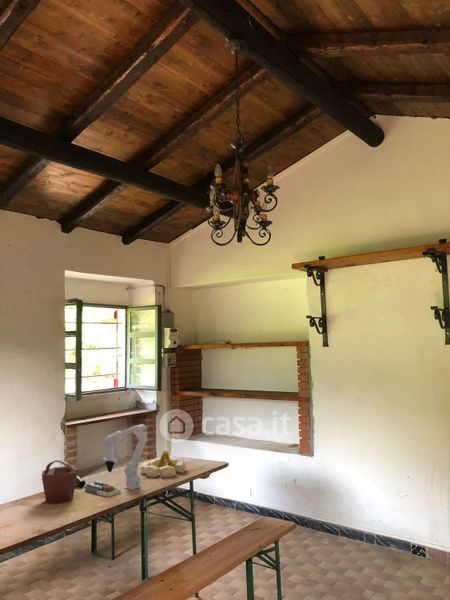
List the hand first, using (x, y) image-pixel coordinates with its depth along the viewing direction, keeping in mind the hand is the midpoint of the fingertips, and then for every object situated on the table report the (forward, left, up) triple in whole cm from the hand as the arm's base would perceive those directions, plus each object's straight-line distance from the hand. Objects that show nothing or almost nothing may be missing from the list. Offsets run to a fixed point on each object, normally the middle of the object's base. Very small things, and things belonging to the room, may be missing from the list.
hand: (109, 471), depth 334 cm
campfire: (-6, -48, -10) cm, 49 cm away
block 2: (-13, +12, -7) cm, 19 cm away
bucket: (+4, +39, -10) cm, 41 cm away
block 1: (-11, +12, -9) cm, 19 cm away
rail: (-1, +12, -10) cm, 16 cm away
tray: (-14, +12, -10) cm, 21 cm away
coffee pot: (+19, +18, -10) cm, 28 cm away
